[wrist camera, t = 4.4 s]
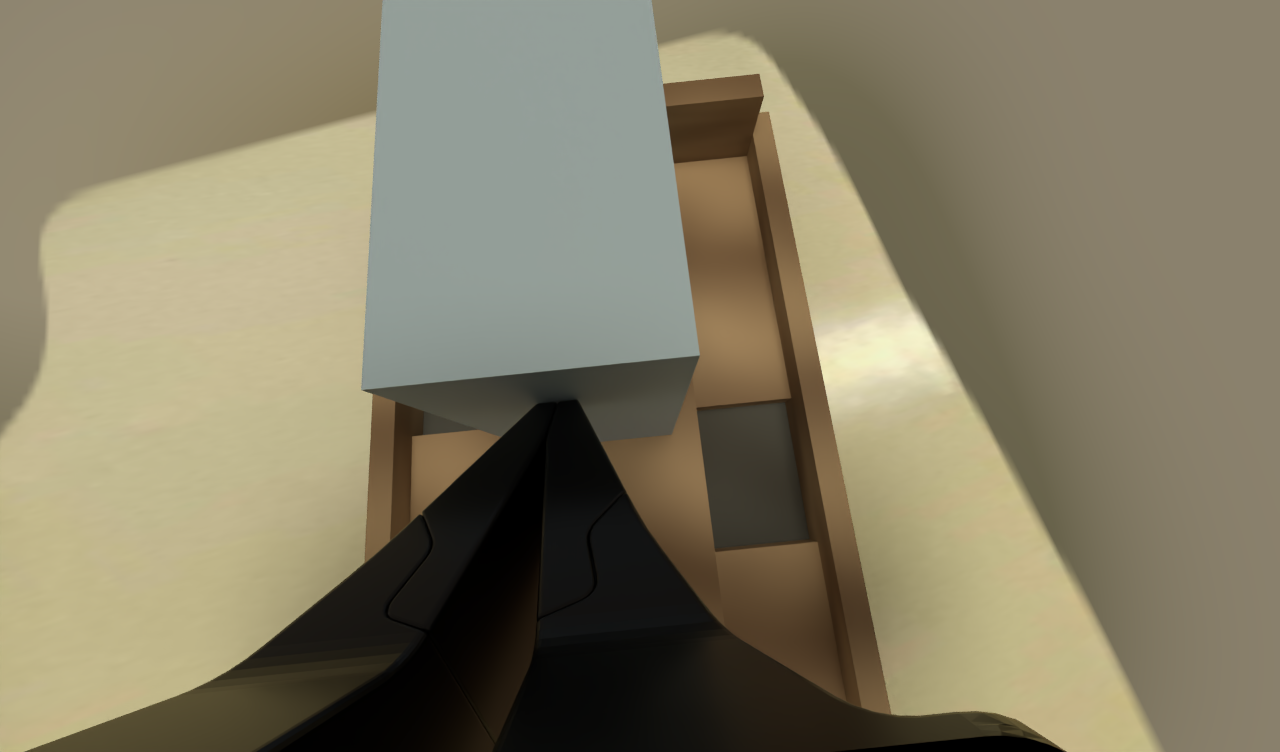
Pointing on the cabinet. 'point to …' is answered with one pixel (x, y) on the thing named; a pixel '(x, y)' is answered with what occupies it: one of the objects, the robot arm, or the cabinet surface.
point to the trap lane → (714, 421)
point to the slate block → (526, 217)
